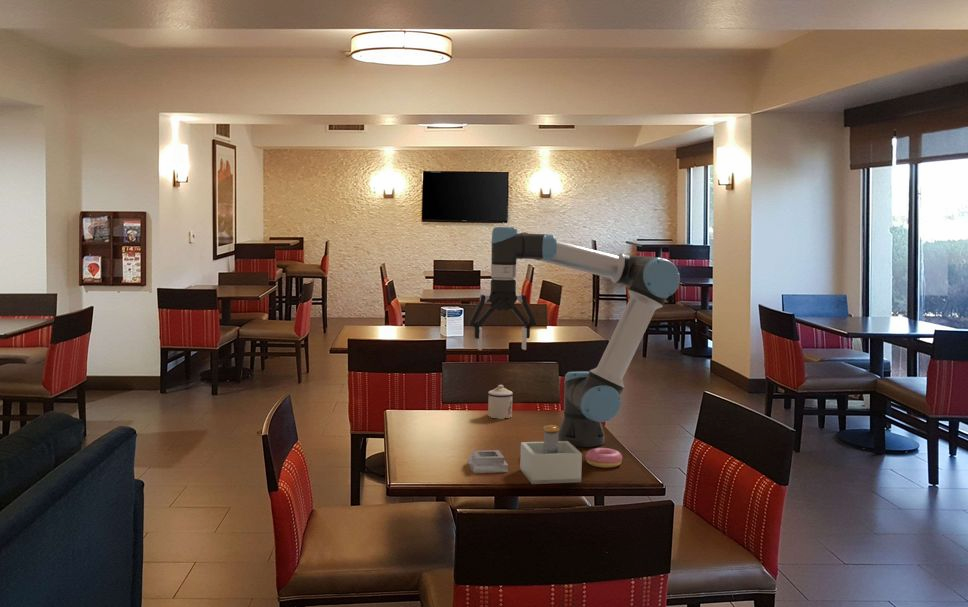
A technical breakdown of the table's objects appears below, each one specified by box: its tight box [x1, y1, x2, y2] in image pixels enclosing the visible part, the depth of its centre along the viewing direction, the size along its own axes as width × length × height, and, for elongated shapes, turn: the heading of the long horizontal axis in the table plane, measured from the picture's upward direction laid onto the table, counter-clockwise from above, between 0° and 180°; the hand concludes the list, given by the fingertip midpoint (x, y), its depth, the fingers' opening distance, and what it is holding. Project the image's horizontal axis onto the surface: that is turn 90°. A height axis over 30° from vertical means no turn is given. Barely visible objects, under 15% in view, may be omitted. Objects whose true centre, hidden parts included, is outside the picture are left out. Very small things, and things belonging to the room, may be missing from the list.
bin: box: [519, 441, 583, 485], centre depth 253 cm, size 14×14×8 cm
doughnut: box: [585, 447, 623, 469], centre depth 267 cm, size 11×11×4 cm
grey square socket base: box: [467, 449, 509, 474], centre depth 260 cm, size 10×10×4 cm
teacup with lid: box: [487, 384, 514, 420], centre depth 326 cm, size 12×9×12 cm
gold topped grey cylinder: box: [543, 424, 560, 454], centre depth 253 cm, size 5×5×13 cm
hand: (501, 349), depth 270 cm, fingers open, 13 cm apart
